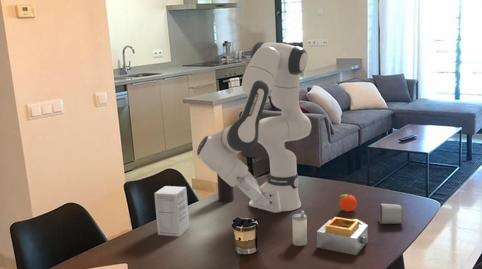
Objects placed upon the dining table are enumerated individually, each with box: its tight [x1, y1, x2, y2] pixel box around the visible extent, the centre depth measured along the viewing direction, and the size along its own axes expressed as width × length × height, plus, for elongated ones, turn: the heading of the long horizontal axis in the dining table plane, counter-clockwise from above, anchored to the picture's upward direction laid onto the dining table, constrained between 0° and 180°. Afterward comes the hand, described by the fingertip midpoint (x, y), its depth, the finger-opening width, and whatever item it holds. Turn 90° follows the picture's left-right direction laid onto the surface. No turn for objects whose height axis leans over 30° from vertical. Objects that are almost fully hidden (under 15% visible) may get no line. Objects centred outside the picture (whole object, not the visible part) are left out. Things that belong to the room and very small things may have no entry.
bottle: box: [216, 173, 235, 203], centre depth 234 cm, size 7×7×20 cm
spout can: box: [291, 210, 308, 247], centre depth 186 cm, size 5×5×12 cm
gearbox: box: [316, 216, 369, 256], centre depth 183 cm, size 15×12×8 cm
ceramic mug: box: [378, 203, 404, 225], centre depth 203 cm, size 11×8×8 cm
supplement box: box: [154, 185, 190, 237], centre depth 201 cm, size 10×9×17 cm
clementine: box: [337, 194, 358, 212], centre depth 216 cm, size 8×7×7 cm
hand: (265, 199), depth 183 cm, fingers open, 8 cm apart
